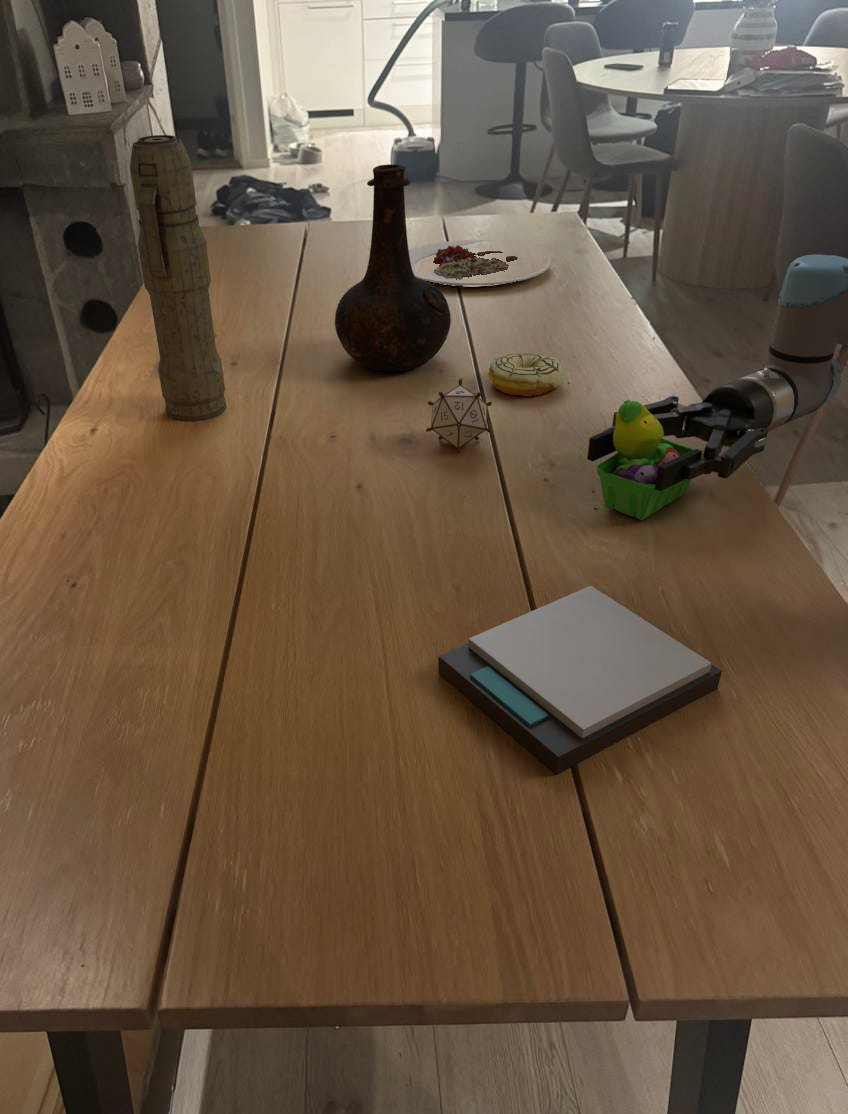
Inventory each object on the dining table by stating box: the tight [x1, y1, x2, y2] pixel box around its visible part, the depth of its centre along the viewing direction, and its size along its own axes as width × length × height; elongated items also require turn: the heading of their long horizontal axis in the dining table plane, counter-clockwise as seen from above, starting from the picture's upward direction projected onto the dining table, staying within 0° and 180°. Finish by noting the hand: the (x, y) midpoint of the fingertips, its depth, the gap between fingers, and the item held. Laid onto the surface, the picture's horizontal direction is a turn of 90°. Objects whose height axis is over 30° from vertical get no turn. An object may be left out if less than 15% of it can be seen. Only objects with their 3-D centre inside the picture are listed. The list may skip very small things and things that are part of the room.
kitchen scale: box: [437, 585, 723, 776], centre depth 85 cm, size 16×19×3 cm
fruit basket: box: [596, 399, 704, 521], centre depth 109 cm, size 11×9×11 cm
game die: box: [425, 377, 493, 456], centre depth 124 cm, size 9×8×10 cm
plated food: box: [409, 239, 552, 286], centre depth 187 cm, size 30×30×3 cm
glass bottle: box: [334, 163, 452, 373], centre depth 142 cm, size 18×18×28 cm
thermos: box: [129, 134, 227, 421], centre depth 128 cm, size 9×12×35 cm
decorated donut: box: [488, 352, 565, 397], centre depth 140 cm, size 10×11×4 cm
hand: (624, 463), depth 106 cm, fingers closed on fruit basket, 9 cm apart
